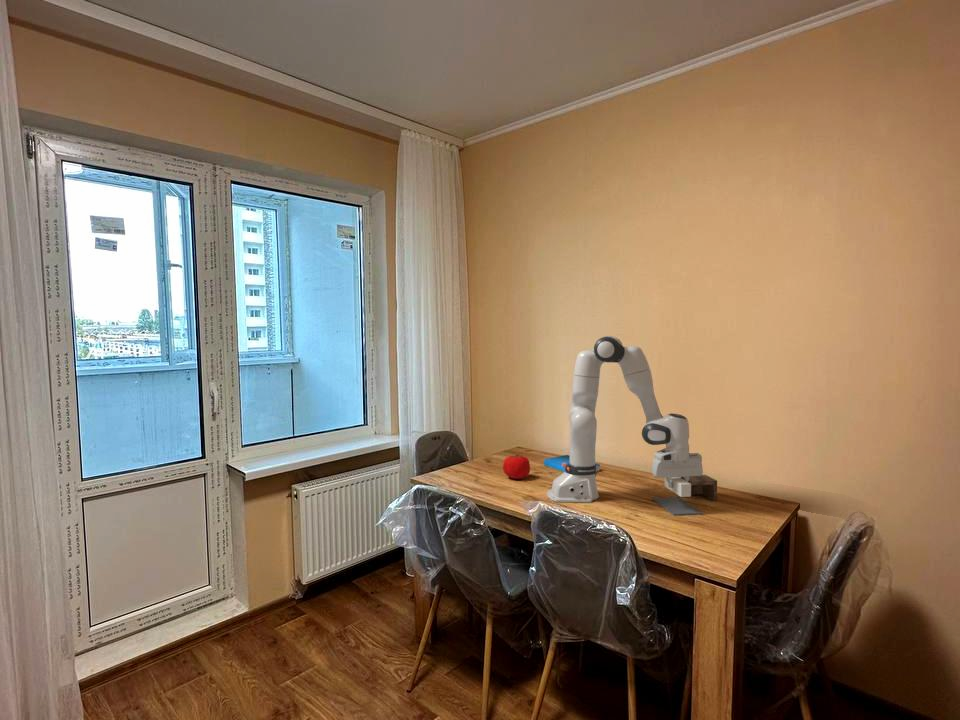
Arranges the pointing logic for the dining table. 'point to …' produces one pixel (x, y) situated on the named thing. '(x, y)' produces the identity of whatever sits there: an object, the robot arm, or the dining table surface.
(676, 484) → the block
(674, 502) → the mat
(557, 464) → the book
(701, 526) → the dining table surface
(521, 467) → the tomato
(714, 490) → the brown box
